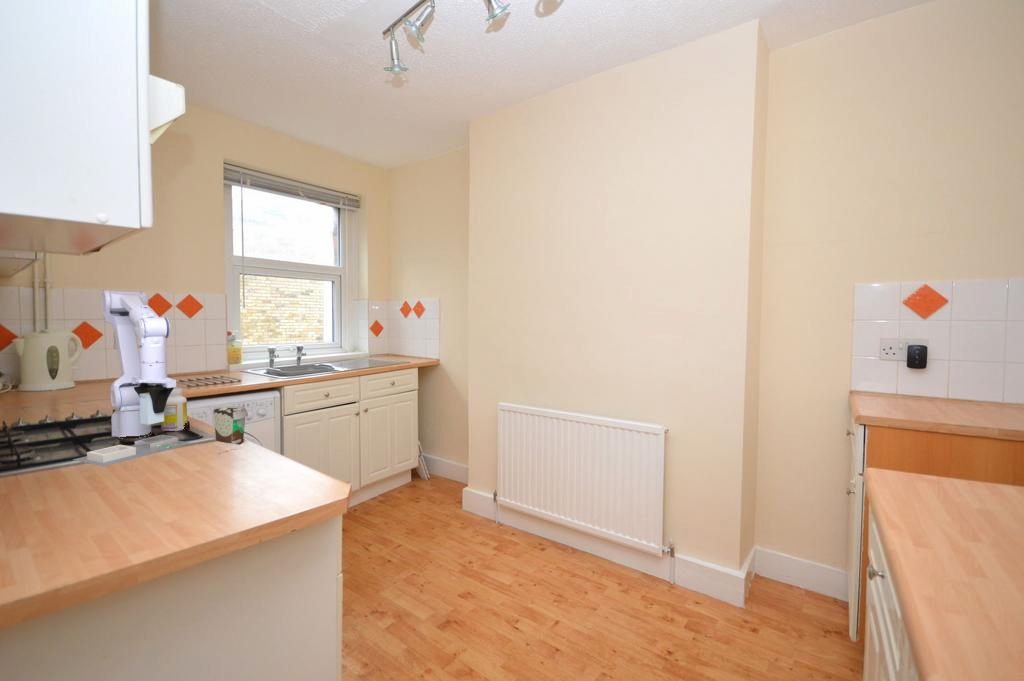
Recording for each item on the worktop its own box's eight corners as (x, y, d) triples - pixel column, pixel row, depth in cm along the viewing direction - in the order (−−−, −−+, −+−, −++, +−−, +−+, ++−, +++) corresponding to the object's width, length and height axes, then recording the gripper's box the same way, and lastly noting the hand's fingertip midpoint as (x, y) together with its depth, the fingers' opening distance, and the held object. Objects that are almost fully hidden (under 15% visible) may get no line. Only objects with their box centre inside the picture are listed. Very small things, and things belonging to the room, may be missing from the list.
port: (134, 447, 120) (134, 441, 120) (162, 441, 127) (162, 434, 127) (155, 451, 118) (155, 444, 118) (183, 444, 125) (183, 438, 124)
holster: (87, 459, 111) (86, 452, 110) (120, 451, 117) (120, 444, 117) (103, 462, 109) (103, 455, 108) (136, 454, 115) (135, 447, 115)
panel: (72, 463, 110) (72, 459, 110) (162, 441, 130) (162, 438, 130) (104, 470, 106) (104, 466, 106) (192, 446, 126) (192, 443, 126)
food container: (256, 443, 131) (256, 409, 131) (234, 448, 126) (234, 412, 125) (234, 436, 138) (234, 403, 137) (212, 440, 132) (212, 406, 132)
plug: (140, 423, 120) (139, 393, 120) (156, 420, 124) (155, 391, 123) (148, 424, 119) (147, 394, 119) (164, 421, 123) (163, 392, 122)
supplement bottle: (181, 426, 147) (180, 387, 146) (191, 429, 144) (190, 389, 143) (156, 430, 141) (156, 389, 141) (167, 433, 138) (166, 392, 137)
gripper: (118, 361, 120) (119, 412, 121) (155, 365, 115) (156, 417, 116) (147, 359, 126) (148, 407, 127) (184, 362, 122) (184, 412, 122)
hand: (154, 412), depth 122 cm, fingers closed on plug, 3 cm apart
